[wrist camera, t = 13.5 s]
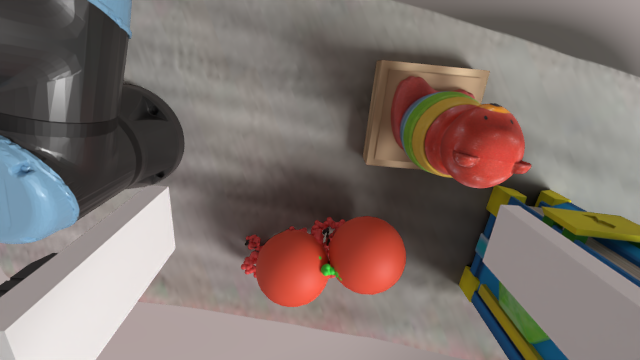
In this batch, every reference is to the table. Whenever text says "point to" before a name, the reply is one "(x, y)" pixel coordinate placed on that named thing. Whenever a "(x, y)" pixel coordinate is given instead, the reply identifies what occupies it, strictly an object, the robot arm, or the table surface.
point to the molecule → (327, 259)
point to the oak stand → (387, 78)
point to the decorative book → (573, 223)
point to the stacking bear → (457, 134)
